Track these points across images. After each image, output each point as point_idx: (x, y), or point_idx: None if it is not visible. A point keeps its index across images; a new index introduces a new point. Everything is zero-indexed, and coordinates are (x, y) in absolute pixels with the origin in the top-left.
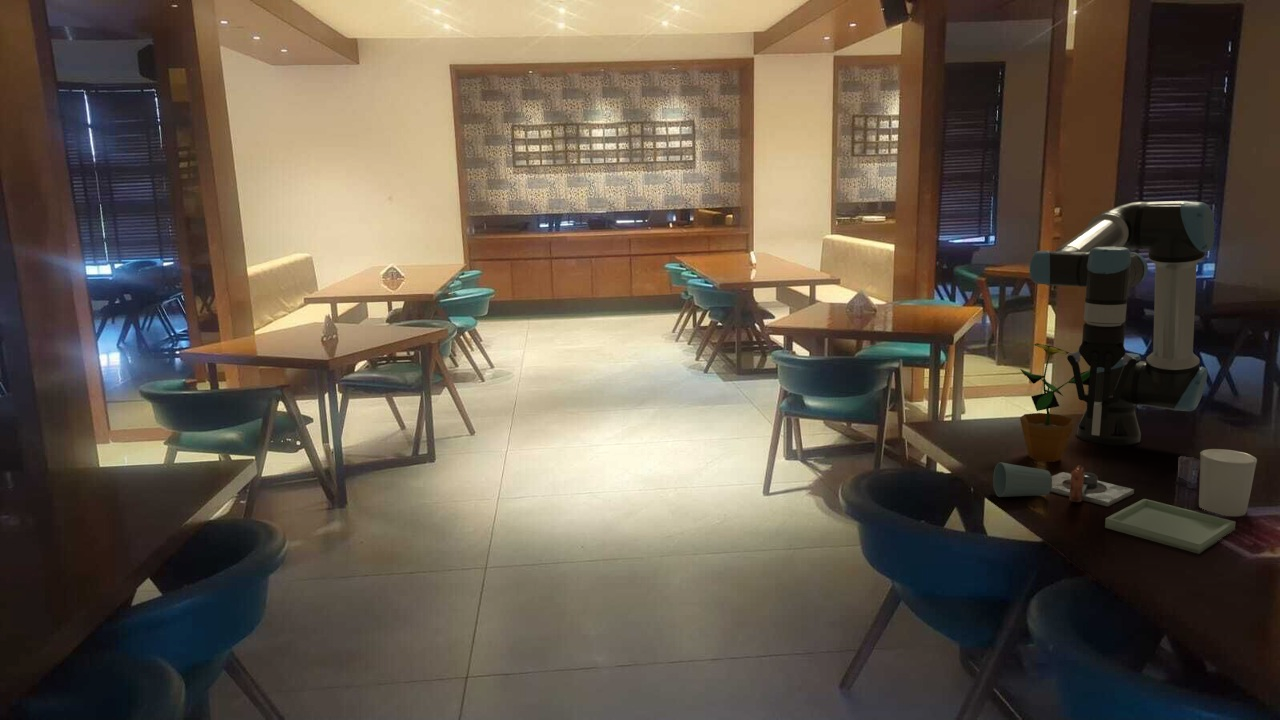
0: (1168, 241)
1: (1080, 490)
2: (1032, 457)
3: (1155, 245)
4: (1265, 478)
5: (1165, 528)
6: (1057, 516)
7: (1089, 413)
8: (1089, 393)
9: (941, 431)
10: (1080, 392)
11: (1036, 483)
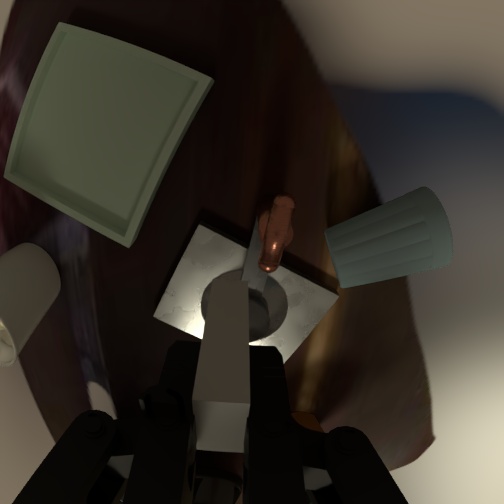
0: None
1: (263, 206)
2: (315, 417)
3: None
4: (34, 395)
5: (98, 106)
6: (311, 125)
7: (268, 366)
8: (295, 484)
9: (406, 448)
10: (368, 477)
11: (364, 219)
